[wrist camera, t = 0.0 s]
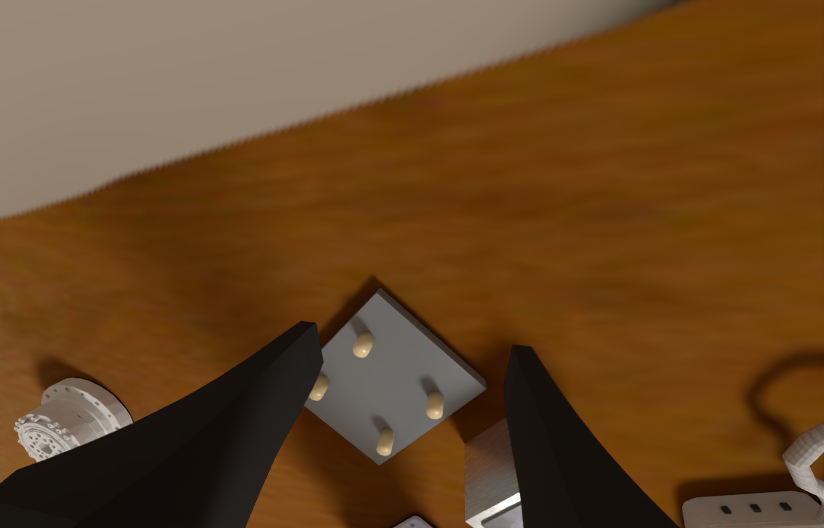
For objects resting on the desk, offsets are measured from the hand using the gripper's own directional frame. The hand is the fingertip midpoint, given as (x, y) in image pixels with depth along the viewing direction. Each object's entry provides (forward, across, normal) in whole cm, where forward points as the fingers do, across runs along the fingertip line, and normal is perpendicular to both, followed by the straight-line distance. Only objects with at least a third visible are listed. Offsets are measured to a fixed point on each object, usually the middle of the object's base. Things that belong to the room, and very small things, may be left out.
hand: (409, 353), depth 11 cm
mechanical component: (+7, +36, +22) cm, 43 cm away
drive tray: (+9, +4, +12) cm, 16 cm away
